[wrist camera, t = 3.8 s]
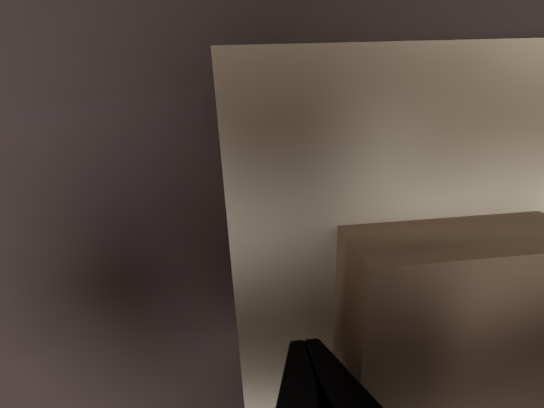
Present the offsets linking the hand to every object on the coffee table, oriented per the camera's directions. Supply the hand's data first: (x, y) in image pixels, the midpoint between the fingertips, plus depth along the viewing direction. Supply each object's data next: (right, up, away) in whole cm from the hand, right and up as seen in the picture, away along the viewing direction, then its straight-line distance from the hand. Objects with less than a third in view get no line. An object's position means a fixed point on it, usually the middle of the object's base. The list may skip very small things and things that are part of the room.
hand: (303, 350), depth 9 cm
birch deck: (+6, +2, +5) cm, 8 cm away
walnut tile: (+4, +1, +1) cm, 4 cm away
